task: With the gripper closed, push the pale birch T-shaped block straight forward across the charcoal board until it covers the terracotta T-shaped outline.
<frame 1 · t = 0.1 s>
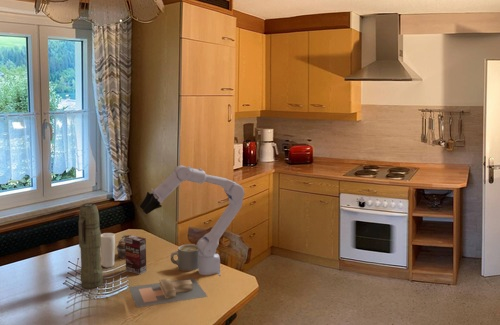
hand: (142, 210, 213), 32 cm above the table, tool tilted 50°, fingers open, 7 cm apart
t block: (177, 290, 208), point 1 cm above the table, touching target board
coffee mug: (185, 268, 235), on the table
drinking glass: (108, 266, 237), on the table
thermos: (91, 285, 215), on the table
target board: (167, 294, 207), on the table
supplement box: (136, 271, 231), on the table
cupcake: (127, 256, 251), on the table
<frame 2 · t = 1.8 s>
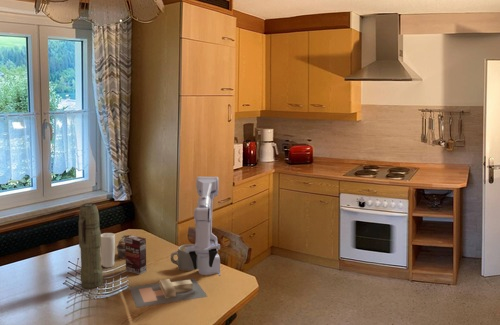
hand: (202, 267, 211), 9 cm above the table, tool pointing down, fingers open, 6 cm apart
nothing on the table moved.
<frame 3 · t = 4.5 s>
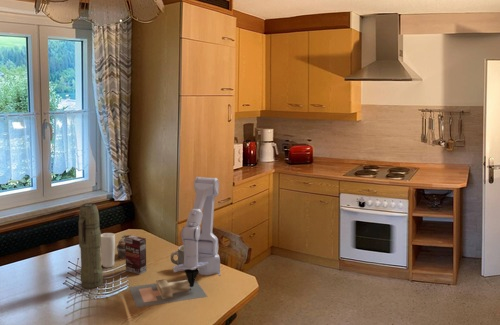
hand: (191, 285, 210), 2 cm above the table, tool pointing down, fingers closed
t block: (174, 290, 208), point 1 cm above the table, touching gripper
everything else where it was.
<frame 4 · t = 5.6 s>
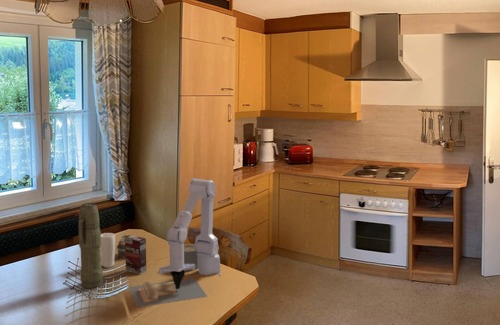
hand: (177, 287, 208), 2 cm above the table, tool pointing down, fingers closed
t block: (159, 292, 206), point 1 cm above the table, touching gripper
everything else where it was.
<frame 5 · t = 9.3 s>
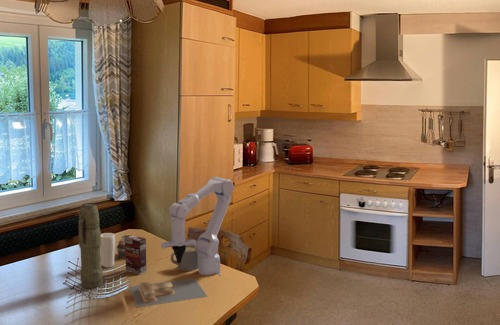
hand: (178, 262, 216), 9 cm above the table, tool pointing down, fingers closed
t block: (157, 293, 205), point 1 cm above the table, touching target board
everything else where it was.
at the end: t block 0.2 cm from the target spot, point 1.0 cm above the table; t block tilted 0° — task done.
